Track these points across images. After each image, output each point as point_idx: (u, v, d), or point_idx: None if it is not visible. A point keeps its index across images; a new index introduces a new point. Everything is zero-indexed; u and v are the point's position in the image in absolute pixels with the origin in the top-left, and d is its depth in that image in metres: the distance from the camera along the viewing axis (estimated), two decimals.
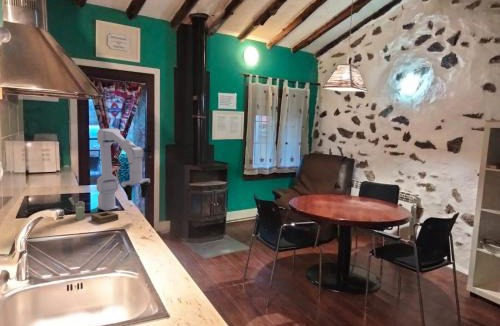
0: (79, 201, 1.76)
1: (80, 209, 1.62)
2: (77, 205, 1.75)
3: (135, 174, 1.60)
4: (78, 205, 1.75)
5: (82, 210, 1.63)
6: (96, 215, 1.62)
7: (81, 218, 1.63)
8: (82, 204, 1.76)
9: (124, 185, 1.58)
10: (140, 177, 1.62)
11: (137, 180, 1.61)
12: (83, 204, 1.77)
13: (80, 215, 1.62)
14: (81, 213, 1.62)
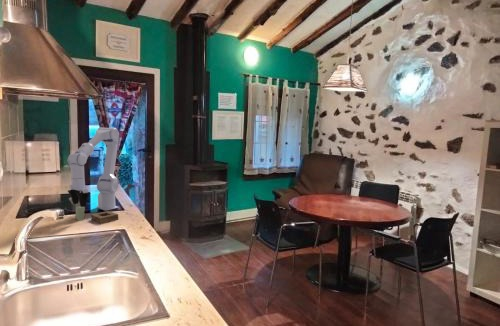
0: None
1: (80, 209, 1.62)
2: (77, 205, 1.75)
3: None
4: (78, 205, 1.75)
5: (82, 210, 1.63)
6: (96, 215, 1.62)
7: (81, 218, 1.63)
8: None
9: (70, 187, 1.65)
10: (73, 184, 1.58)
11: (71, 186, 1.60)
12: None
13: (80, 215, 1.62)
14: (81, 213, 1.62)
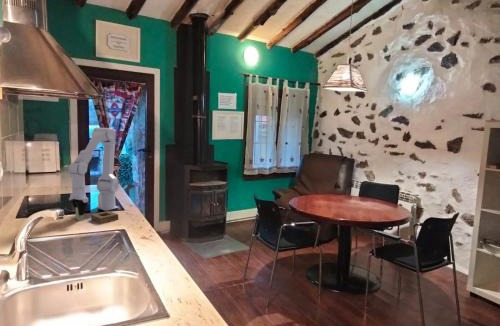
0: None
1: None
2: None
3: None
4: None
5: None
6: (96, 215, 1.62)
7: (81, 218, 1.63)
8: None
9: (70, 196, 1.66)
10: (73, 193, 1.59)
11: (72, 195, 1.60)
12: None
13: (80, 215, 1.62)
14: None
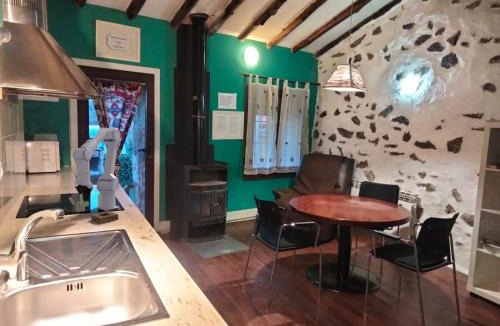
0: (79, 201, 1.76)
1: None
2: (77, 205, 1.75)
3: None
4: (78, 205, 1.75)
5: None
6: (96, 215, 1.62)
7: (85, 205, 1.61)
8: None
9: (75, 182, 1.65)
10: (78, 179, 1.58)
11: (77, 181, 1.59)
12: None
13: (84, 202, 1.61)
14: None
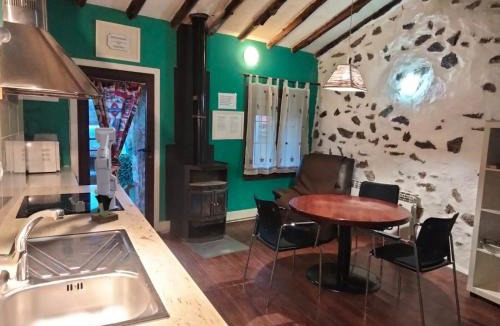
0: (79, 201, 1.76)
1: None
2: (77, 205, 1.75)
3: None
4: (78, 205, 1.75)
5: None
6: (96, 215, 1.62)
7: (105, 214, 1.62)
8: (82, 204, 1.76)
9: (94, 192, 1.65)
10: (98, 188, 1.59)
11: (97, 191, 1.60)
12: (83, 204, 1.77)
13: (104, 211, 1.61)
14: None
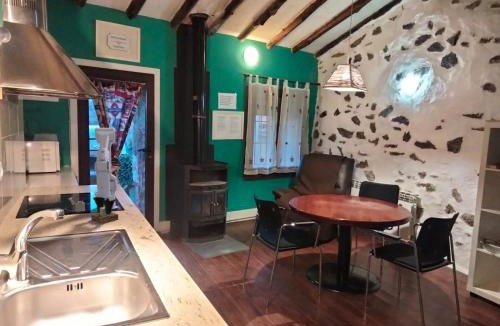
0: (79, 201, 1.76)
1: (104, 210, 1.62)
2: (77, 205, 1.75)
3: None
4: (78, 205, 1.75)
5: None
6: (96, 215, 1.62)
7: None
8: (82, 204, 1.76)
9: (95, 194, 1.65)
10: (99, 191, 1.59)
11: (97, 193, 1.60)
12: (83, 204, 1.77)
13: None
14: (105, 214, 1.62)
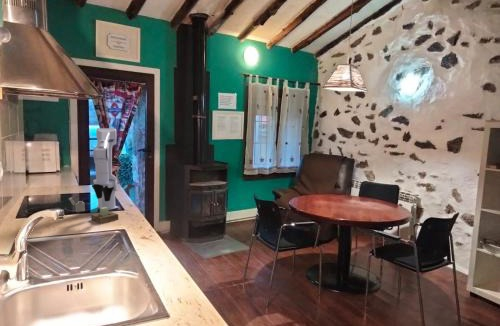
0: (79, 201, 1.76)
1: (104, 210, 1.62)
2: (77, 205, 1.75)
3: None
4: (78, 205, 1.75)
5: (106, 211, 1.62)
6: (96, 215, 1.62)
7: None
8: (82, 204, 1.76)
9: (93, 182, 1.67)
10: (97, 178, 1.61)
11: (96, 180, 1.62)
12: (83, 204, 1.77)
13: None
14: (105, 214, 1.62)
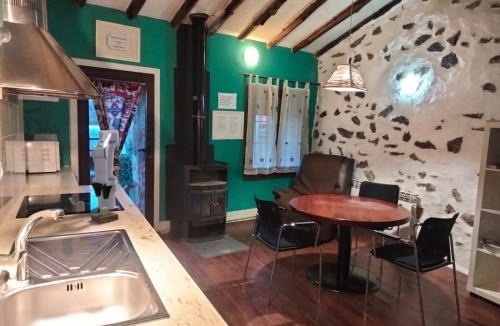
0: (79, 201, 1.76)
1: (104, 210, 1.62)
2: (77, 205, 1.75)
3: None
4: (78, 205, 1.75)
5: (106, 211, 1.62)
6: (96, 215, 1.62)
7: None
8: (82, 204, 1.76)
9: (92, 180, 1.71)
10: (96, 177, 1.64)
11: (95, 179, 1.65)
12: (83, 204, 1.77)
13: None
14: (105, 214, 1.62)
